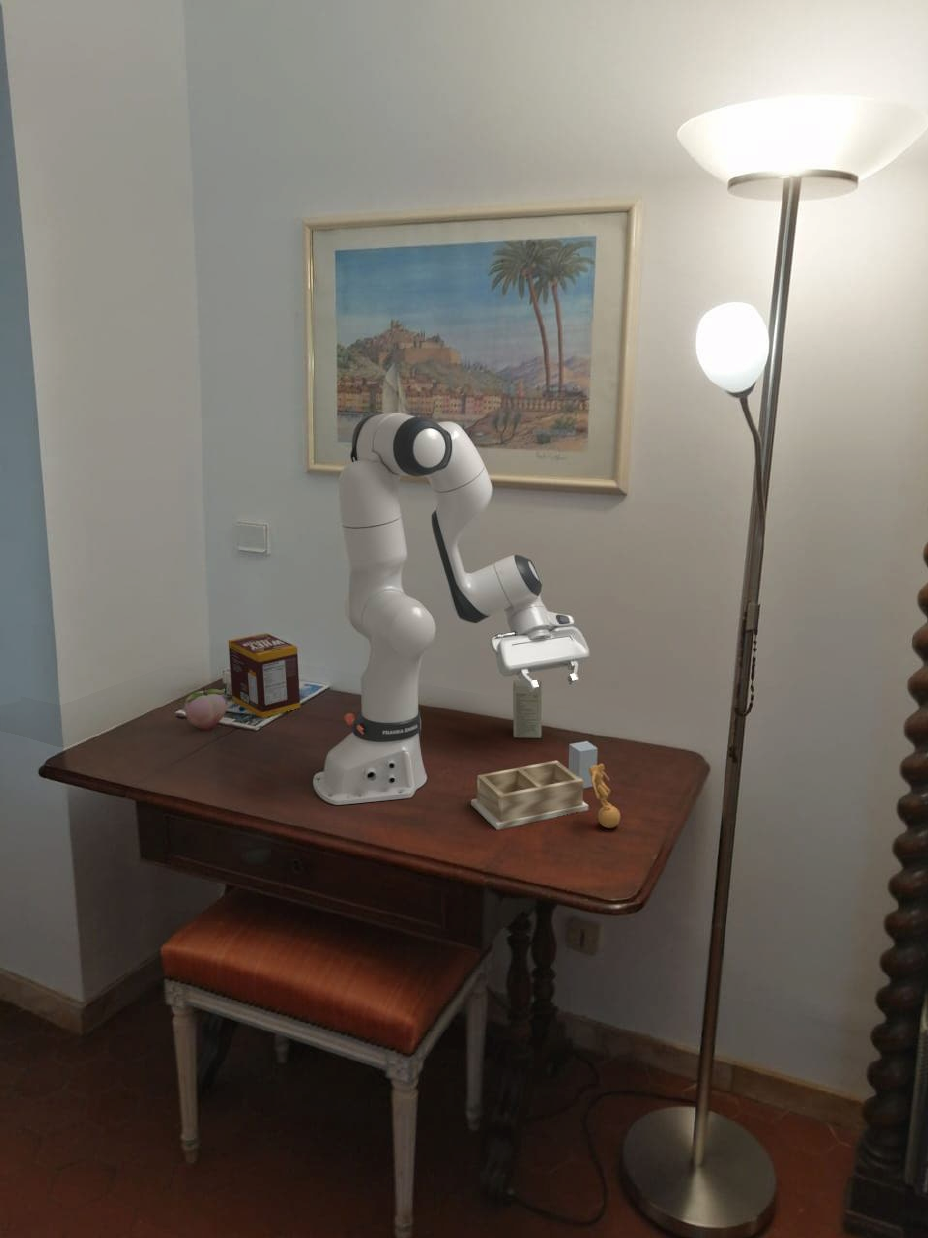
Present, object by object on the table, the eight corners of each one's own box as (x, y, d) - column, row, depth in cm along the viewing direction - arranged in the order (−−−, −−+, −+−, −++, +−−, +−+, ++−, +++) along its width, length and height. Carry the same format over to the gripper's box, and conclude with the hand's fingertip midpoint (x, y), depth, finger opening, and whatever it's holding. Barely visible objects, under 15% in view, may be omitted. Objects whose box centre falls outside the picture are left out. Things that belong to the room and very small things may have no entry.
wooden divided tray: (496, 830, 174) (497, 799, 173) (471, 804, 184) (471, 775, 182) (588, 810, 182) (589, 780, 180) (558, 786, 192) (559, 758, 190)
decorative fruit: (214, 718, 226) (211, 678, 223) (233, 728, 220) (231, 686, 218) (177, 729, 219) (174, 687, 217) (197, 739, 214) (193, 696, 211)
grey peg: (578, 789, 191) (579, 751, 188) (568, 781, 194) (569, 744, 192) (596, 785, 192) (597, 748, 190) (585, 778, 196) (586, 741, 194)
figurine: (614, 839, 171) (617, 776, 168) (581, 833, 173) (583, 771, 170) (624, 818, 179) (627, 758, 176) (592, 813, 181) (594, 753, 178)
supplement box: (268, 691, 244) (265, 632, 240) (301, 708, 232) (298, 646, 228) (231, 701, 237) (227, 639, 233) (262, 719, 226) (258, 654, 222)
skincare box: (541, 731, 219) (543, 679, 216) (541, 738, 215) (542, 686, 212) (513, 730, 220) (514, 678, 217) (512, 737, 216) (513, 685, 213)
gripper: (492, 628, 199) (514, 687, 193) (579, 615, 207) (602, 672, 201) (483, 643, 204) (504, 701, 198) (568, 630, 212) (591, 686, 206)
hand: (554, 686), depth 200 cm, fingers open, 8 cm apart
